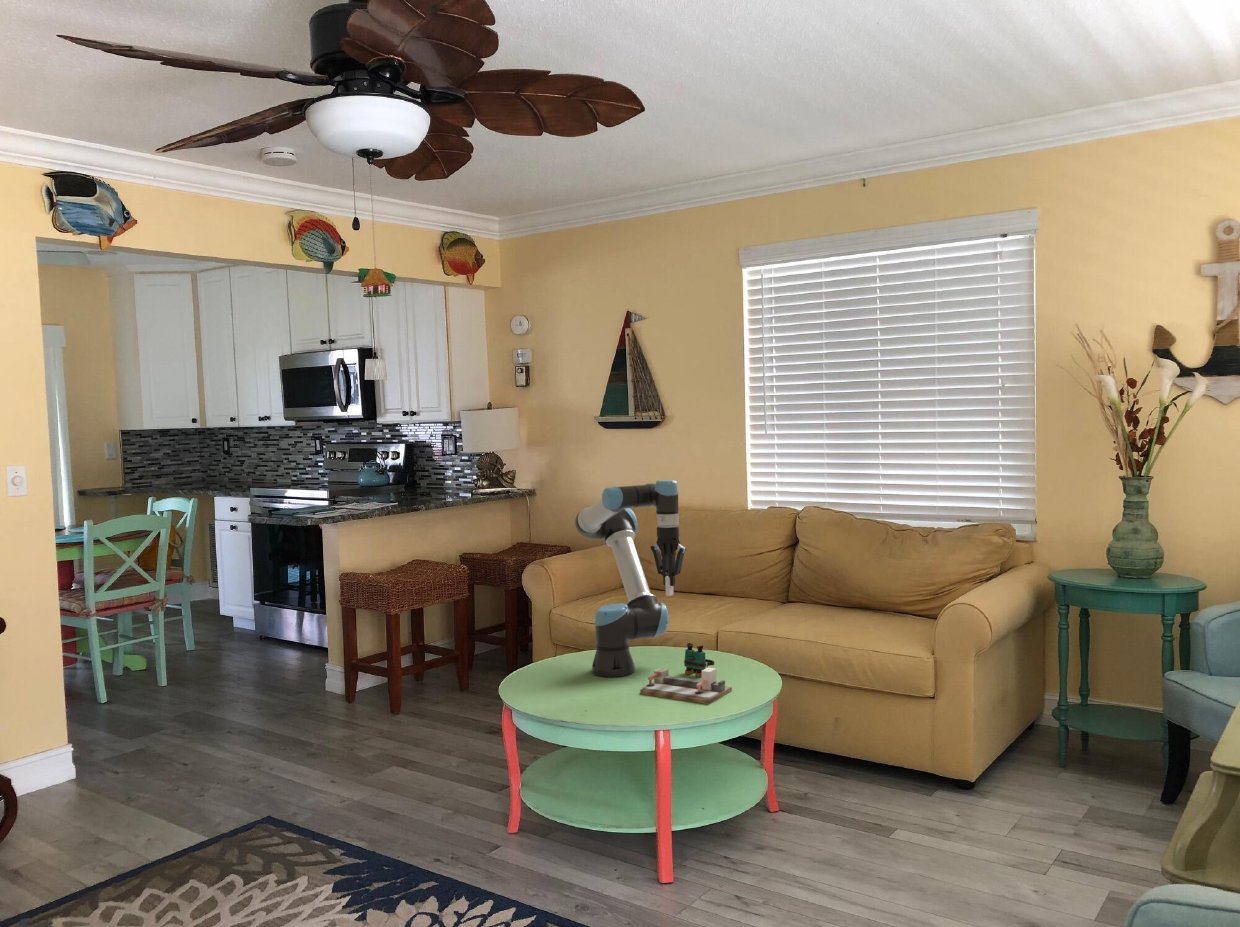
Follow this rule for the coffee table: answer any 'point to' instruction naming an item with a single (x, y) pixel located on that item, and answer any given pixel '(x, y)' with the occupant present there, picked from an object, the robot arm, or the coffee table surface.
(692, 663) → the binoculars
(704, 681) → the slider head
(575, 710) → the coffee table surface
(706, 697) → the gauge
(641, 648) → the coffee table surface
